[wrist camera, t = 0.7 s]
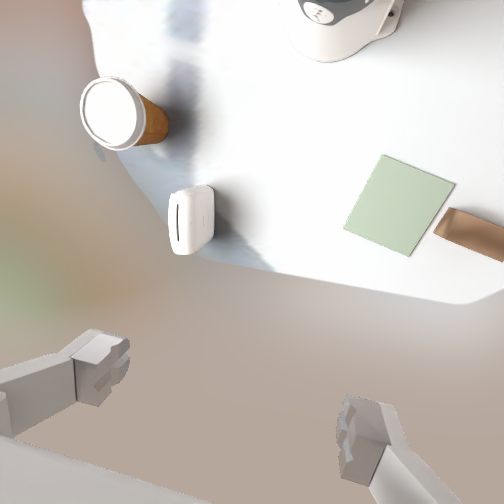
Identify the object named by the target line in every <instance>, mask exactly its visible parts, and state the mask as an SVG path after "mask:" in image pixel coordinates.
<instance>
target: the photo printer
mask: <svg viewBox="0 0 504 504" xmlns="http://www.w3.org/2000/svg"><path fill="white" fill-rule="evenodd" d="M214 211H215V210H214V191H213V189H211V188H210V187H209V186H207V185H200V186H196V187H192V188H188V189H184V190H180V191H178V192H174V193H172V194H171V197H170V201H169V233H170V240H171V245H172V248H173V251H174V253H176V254H183V255H188V254H193V253H195V252H197V251H198V250H199V249H200V248H201V247H203V246H204V245H205V244H206V243H207V242H209V241H210V240H211V239H212V238H213V235H214V216H215V213H214Z"/></svg>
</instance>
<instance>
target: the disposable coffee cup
mask: <svg viewBox="0 0 504 504" xmlns="http://www.w3.org/2000/svg"><path fill="white" fill-rule="evenodd" d="M80 114H81V118H82V122H83V125H84V126H85V129H86V130H87V131H88V133H89V134H90V135H91V137H92V138H93V139H95V140H96V141H97V142H98V143H100V144H101V145H102V146H104V147H106V148H108V149H111V150H125V149H128V148H130V147H132V146H139V145H147V144H156V143H159V142H161V141H163V140H164V139H165V137H166V136H167V133H168V130H169V122H168V118H167V116H166V114H165V113H164V111H163V110H162V109H161V108H159V107H158V106H156V105H155V104H153V103H152V102H151V101H149V100H148V99H146V98H145V97H143V96H142V95H141V94H139V93H138V92H137V91H136V90H135V89H134V88H133V87H132V86H131V85H130V84H129V83H128V82H126V81H125V80H123V79H121V78H118V77H113V76H106V77H102V78H99V79H96V80H94V81H92V82H91V83H89V84H88V86H87V87H86V88H85V89H84V92H83V94H82V96H81V101H80Z"/></svg>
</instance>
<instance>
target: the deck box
mask: <svg viewBox="0 0 504 504" xmlns="http://www.w3.org/2000/svg"><path fill="white" fill-rule="evenodd" d="M433 233H435V234H437V235H439V236H440V237H442V238H444V239H446V240H449V241H451V242H454V243H456V244H459V245H461V246H464V247H466V248H468V249H471V250H473V251H476V252H478V253H481V254H483V255H486V256H488V257H491V258H493V259H496V260H498V261H500V262H503V261H504V228H502V227H500V226H497V225H495V224H493V223H490V222H488V221H485V220H483V219H480V218H478V217H475V216H473V215H470V214H468V213H465V212H462V211H459V210H456V209H452V208H448V210H447V211H446V213H445V214H444V216H443V218H442V219H441V221H440V222H439V224H438V225H437V227H436V229H435V230H434V232H433Z"/></svg>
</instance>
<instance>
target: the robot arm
mask: <svg viewBox="0 0 504 504" xmlns="http://www.w3.org/2000/svg"><path fill="white" fill-rule="evenodd" d="M278 2H279V4H280V6H281V9H282V15H283V22H284V26H285V30H286V33H287V35H288V37H289V39H290V41H291V43H292V44H293V45H294V47H295V48H296V49H297V50H298V51H299V52H300V53H301V54H303V55H304V56H306V57H308V58H310V59H312V60H315V61H319V62H334V61H339V60H342V59H345V58H347V57H349V56H351V55H353V54H354V53H356V52H357V51H359V50H360V49H361V48H363V47H364V46H365V45H366V44H368V43H369V42H371V41H374V40H378V39H381V38H384V37H387V36H389V35H390V34H392V33H393V32H394V30H395V29H396V26H397V24H398V20H399V17H400V14H401V10H402V7H403V3H404V0H278ZM389 12H392V13H393V16H392V17H389V16H388V13H389ZM129 343H130V342H129V340H128V339H127V338H124V337H120V336H117V335H114V334H110V333H107V332H102V331H99V330H95V329H89V330H87V331H86V332H84V333H83V334H82V335H80V336H79V337H78V338H77V339H75V340H74V341H73V342H71V343H70V344H69V345H67V346H66V347H65V348H63V349H62V350H61V351H59V352H58V353H57V354H48V355H45V356H42V357H39V358H35V359H32V360H29V361H26V362H22V363H19V364H16V365H13V366H10V367H6V368H3V369H0V504H213V503H210V502H207V501H204V500H201V499H198V498H195V497H192V496H188V495H185V494H182V493H179V492H176V491H173V490H170V489H167V488H164V487H161V486H158V485H155V484H151V483H148V482H145V481H142V480H139V479H136V478H133V477H129V476H127V475H124V474H120V473H117V472H114V471H111V470H108V469H105V468H101V467H99V466H96V465H92V464H89V463H86V462H83V461H80V460H77V459H74V458H71V457H68V456H65V455H61V454H58V453H55V452H52V451H49V450H46V449H43V448H40V447H37V446H33V445H30V444H27V443H24V442H21V441H18V440H15V439H14V437H15V436H16V435H18V434H20V433H22V432H24V431H26V430H27V429H29V428H31V427H33V426H35V425H36V424H38V423H40V422H42V421H44V420H45V419H47V418H49V417H51V416H53V415H54V414H56V413H58V412H60V411H62V410H63V409H65V408H67V407H69V406H71V405H73V404H74V403H76V401H77V402H81V403H85V404H90V405H93V406H97V407H99V406H100V405H101V404H102V402H103V401H104V400H105V399H106V398H107V397H108V395H109V394H110V393H111V386H113V385H115V384H118V383H120V381H121V380H122V379H123V378H124V376H125V374H126V372H127V370H128V367H129V363H130V360H129V359H130V357H129V356H128V354H127V352H126V351H127V350H128V349H129V348H130V345H129ZM343 407H344V411H342V412H340V413H339V417H338V420H337V427H336V439H337V444H338V445H339V447H340V448H341V451H340V454H339V456H338V457H339V466H340V474H341V478H343V479H346V480H349V481H352V482H355V483H359V484H362V485H365V486H368V487H369V490H370V492H371V493H372V495H373V497H374V499H375V500H376V502H377V504H463V503H462V502H461V501H460V500H459V499H458V498H457V496H455V494H454V493H453V492H452V491H451V490H450V489H449V488H448V487H447V486H446V485H445V484H444V482H443V481H442V480H441V479H440V478H439V477H438V476H437V475H436V474H435V473H434V472H433V471H432V470H431V469H430V467H429V466H427V464H426V463H425V462H424V461H423V460H422V459H421V458H420V457H419V456H418V455H417V454H416V453H415V452H412V451H410V448H409V445H408V443H407V440H406V437H405V435H404V432H403V429H402V426H401V424H400V421H399V418H398V416H397V413H396V410H395V408H394V407H393V406H392V405H389V404H385V403H380V402H375V401H371V400H367V399H363V398H359V397H355V396H351V395H346V396H345V399H344V401H343Z"/></svg>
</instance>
